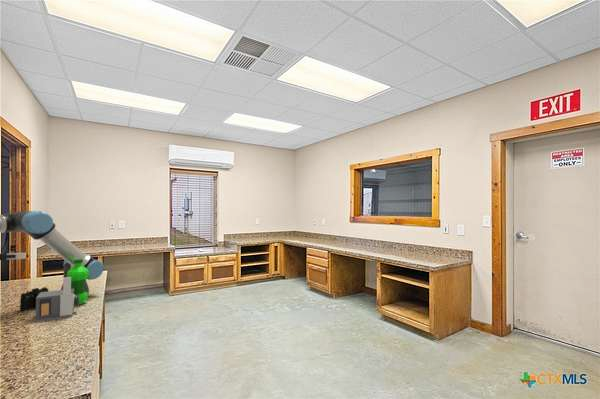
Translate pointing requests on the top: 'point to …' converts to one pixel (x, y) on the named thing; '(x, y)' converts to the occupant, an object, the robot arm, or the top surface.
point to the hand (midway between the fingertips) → (25, 255)
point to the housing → (51, 305)
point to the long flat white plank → (66, 298)
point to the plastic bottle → (79, 280)
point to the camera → (30, 298)
